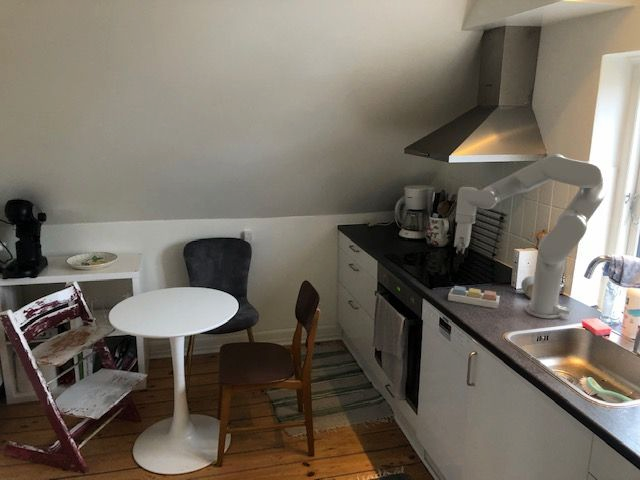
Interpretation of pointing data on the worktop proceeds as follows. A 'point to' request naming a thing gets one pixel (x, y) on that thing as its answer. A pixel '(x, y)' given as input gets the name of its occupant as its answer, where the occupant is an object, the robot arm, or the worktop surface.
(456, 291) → the slate button
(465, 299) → the panel
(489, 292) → the terracotta button
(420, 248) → the worktop surface
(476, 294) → the mustard button
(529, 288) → the ceramic mug
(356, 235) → the worktop surface
